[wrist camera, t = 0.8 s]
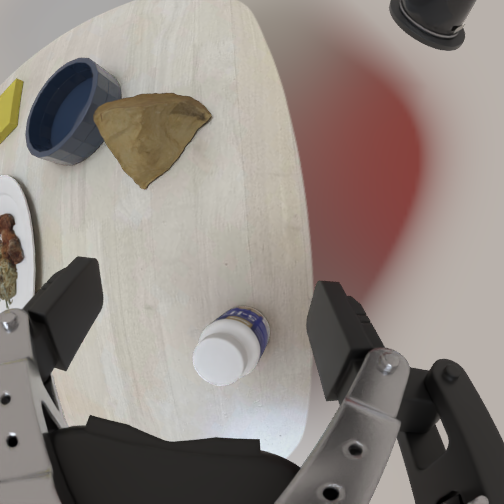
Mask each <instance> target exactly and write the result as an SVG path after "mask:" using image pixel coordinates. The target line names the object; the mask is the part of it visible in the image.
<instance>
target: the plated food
mask: <svg viewBox="0 0 504 504" xmlns="http://www.w3.org/2000/svg"><path fill="white" fill-rule="evenodd" d="M35 272H36V270H35V246H34V236H33V227H32V222H31V216H30V211H29V207H28V204H27V200H26V197H25V195H24V193H23V190H22V188H21V186H20V185H19V184H18V182H17V181H16V180H15V179H14V178H12V177H11V176H9V175H0V313H1V312H3V311H5V310H8V309H12V308H19V309H22V308H23V307H24V306H25V305H26V304H27V303H28V302H29V300H30V299H31V298H32V297H33V296H34V293H35Z"/></svg>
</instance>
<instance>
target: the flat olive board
mask: <svg viewBox="0 0 504 504" xmlns="http://www.w3.org/2000/svg"><path fill="white" fill-rule="evenodd" d="M22 87H23V81H21V80H19V79H17V78H16V80H15V81H14V82H13V83H12V84H11V85H10V86H9V87H8V88H7V89H6V90H5V91H4V93H3V94H2V95H1V96H0V144H1V142H2V141H3V140H4V139H5V138H6V137H7V136H8V135H9V134H10V133H11V132H12V131H13V130H14V129H15V128H16V127H17V125H18V115H19V107H20V99H21V93H22Z"/></svg>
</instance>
